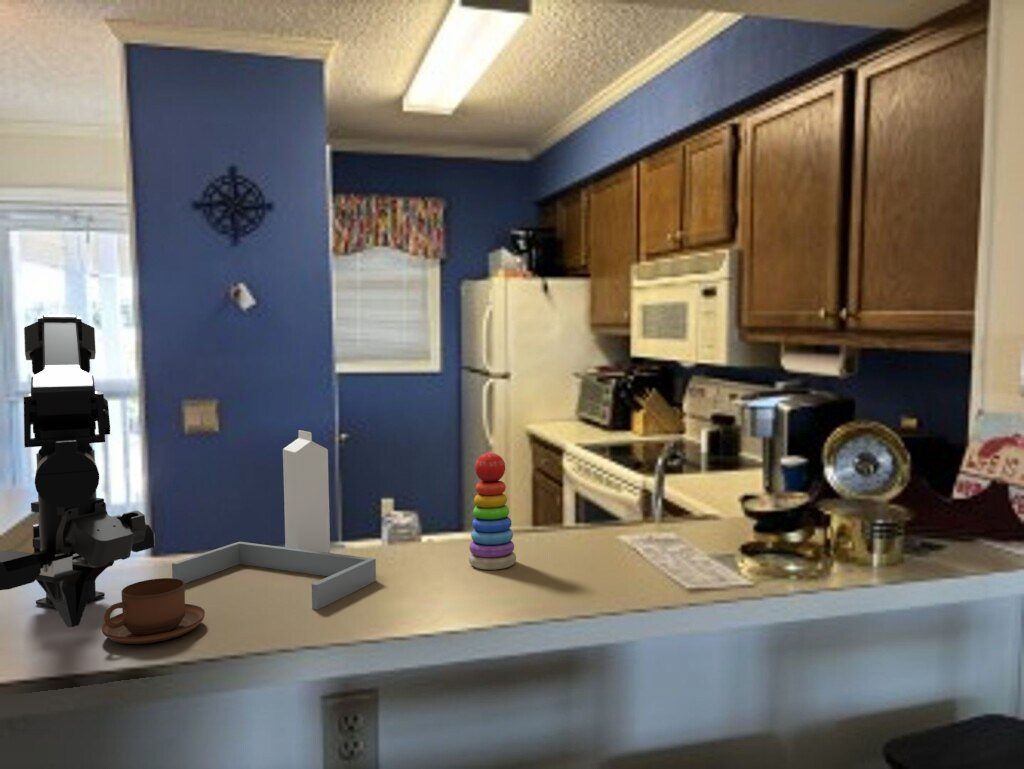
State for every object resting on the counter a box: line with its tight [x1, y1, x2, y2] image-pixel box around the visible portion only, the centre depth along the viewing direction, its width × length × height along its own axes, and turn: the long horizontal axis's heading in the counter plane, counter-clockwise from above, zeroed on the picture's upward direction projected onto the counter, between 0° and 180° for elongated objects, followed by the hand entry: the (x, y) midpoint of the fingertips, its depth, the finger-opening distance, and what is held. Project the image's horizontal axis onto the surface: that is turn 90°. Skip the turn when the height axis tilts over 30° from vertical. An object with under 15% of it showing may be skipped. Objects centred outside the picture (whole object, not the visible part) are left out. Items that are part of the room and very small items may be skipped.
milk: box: [282, 429, 331, 553], centre depth 132 cm, size 6×6×22 cm
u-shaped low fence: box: [171, 541, 377, 610], centre depth 116 cm, size 28×14×4 cm, turn 66°
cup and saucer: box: [101, 577, 206, 645], centre depth 96 cm, size 12×12×6 cm
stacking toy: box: [468, 452, 517, 571], centre depth 125 cm, size 8×8×19 cm
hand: (72, 626), depth 86 cm, fingers closed
